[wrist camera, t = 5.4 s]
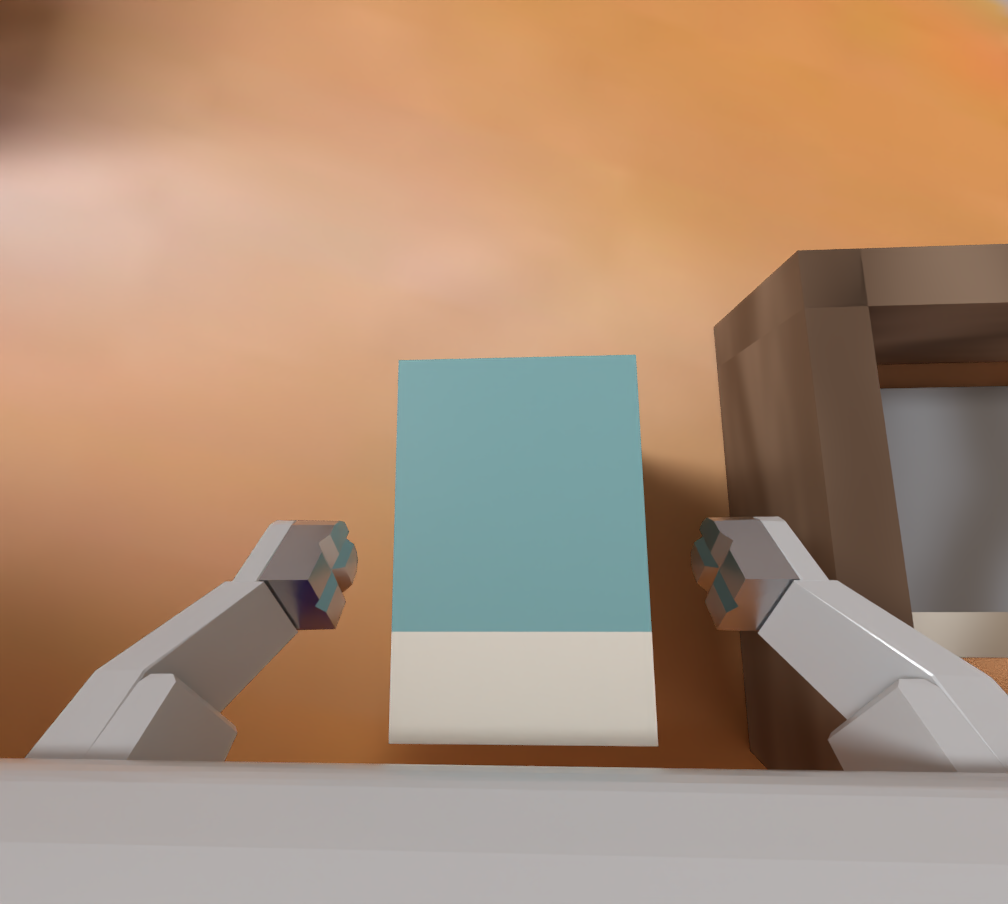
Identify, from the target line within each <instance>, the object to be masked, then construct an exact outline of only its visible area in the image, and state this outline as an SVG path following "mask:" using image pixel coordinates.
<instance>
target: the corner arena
mask: <svg viewBox="0 0 1008 904" xmlns="http://www.w3.org/2000/svg"><path fill="white" fill-rule="evenodd" d="M714 335H715V347H716V359H717V370H718V382H719V394H720V405H721V417H722V429H723V440H724V452H725V464H726V475H727V487H728V499H729V510H730V517H780V518H782V519H783V520H785V521H786V523H787V524H788V525H789V527H790V528H791V529H792V531H793V532H794V533H795V535H796V536H797V537H798V539H799V540H800V541H801V543H802V544H803V546H804V547H805V548H806V550H807V551H808V552H809V554H810V555H811V556H812V558H813V559H814V560H815V562H816V563H817V564H818V566H819V567H820V568H821V570H822V571H823V572H824V574H825V575H826V576H827V578H828V579H829V580H837V581H839V582H841V583H842V584H844V585H845V586H847V587H848V588H850V589H852V590H853V591H855V592H856V593H858V594H860V595H861V596H863V597H864V598H866V599H868V600H869V601H871V602H872V603H874V604H875V605H877V606H879V607H880V608H882V609H883V610H885V611H887V612H888V613H890V614H891V615H893V616H895V617H896V618H898V619H899V620H901V621H902V622H904V623H906V624H907V625H909V626H910V627H912V628H914V629H915V630H917V631H918V632H920V633H922V634H923V635H925V636H926V637H928V638H930V639H931V640H933V641H934V642H936V643H937V644H939V645H941V646H942V647H944V648H945V649H947V650H949V651H950V652H952V653H953V654H955V655H957V656H958V657H992V658H1008V386H986V387H937V388H887V389H880V385H879V378H878V371H877V364H917V363H962V362H1007V361H1008V244H990V245H959V246H927V247H896V248H865V249H833V250H802V251H797V252H796V253H794V254H793V255H792V256H791V257H790V258H789V259H788V260H787V261H786V262H785V263H783V264H782V265H781V266H780V267H779V268H778V269H777V270H776V271H775V272H774V273H773V274H771V275H770V276H769V277H768V278H767V279H766V280H765V281H764V282H763V283H762V284H760V285H759V286H758V287H757V288H756V289H755V290H754V291H753V292H752V293H751V294H749V295H748V296H747V297H746V298H745V299H744V300H743V301H742V302H741V303H740V304H738V305H737V306H736V307H735V308H734V309H733V310H732V311H731V312H730V313H729V314H727V315H726V316H725V317H724V318H723V319H722V320H721V321H720V322H719V323H718V324H717V325H715V326H714ZM758 632H759V631H740V638H741V650H742V662H743V673H744V685H745V697H746V708H747V720H748V732H749V743H750V751H751V752H752V753H753V754H754V755H755V756H756V757H757V758H758V759H759V760H760V761H761V763H762V764H763V765H764V766H765V767H766V768H767V769H768V770H829V771H844V770H843V768H842V766H841V764H840V762H839V760H838V758H837V756H836V754H835V753H834V751H833V749H832V747H831V745H830V743H829V741H828V738H829V736H830V734H831V732H832V731H834V730H835V729H836V728H837V727H839V726H840V725H841V724H842V723H844V722H845V721H846V720H847V719H846V718H845V717H844V716H843V715H842V714H841V713H840V712H839V711H838V710H837V709H836V708H835V707H834V706H833V705H832V704H831V703H829V702H828V701H827V700H826V699H825V698H824V697H823V696H822V695H821V694H820V693H819V692H818V691H817V690H816V689H815V688H814V687H813V686H812V685H811V684H810V683H809V682H808V681H807V680H806V679H805V678H804V677H803V676H802V675H800V674H799V673H798V672H797V671H796V670H795V669H794V668H793V667H792V666H791V665H790V664H789V663H788V662H787V661H786V660H785V659H784V658H783V657H782V656H781V655H780V654H779V653H778V652H777V651H776V650H775V649H774V648H772V647H771V646H770V645H769V644H768V643H767V642H766V641H765V640H764V639H763V638H762V637H761V636H760V635H759V634H758Z"/></svg>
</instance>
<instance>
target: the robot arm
mask: <svg viewBox="0 0 1008 904" xmlns="http://www.w3.org/2000/svg"><path fill="white" fill-rule="evenodd" d="M699 530H700V532H701V534H702V536H703V537H701V538H700V539H698V540H697V541H696V542H694V544H693V547H692V550H691V567H692V571H693V575H694V577H695V579H696V582H697V584H698V585H700V586H701V587H702V588H703V589H704V590H706V591H707V592H708V594H707V597H706V599H705V603H706V606H707V608H708V610H709V612H710V615H711V617H712V619H713V622H714V624H715V626H716V629H717V630H735V631H759V632H758V634H759V635H760V636H761V637H762V638H763V639H764V640H765V641H766V642H767V643H768V644H769V645H770V646H771V647H772V648H774V649H775V650H776V651H777V652H778V653H779V654H780V655H781V656H782V657H783V658H784V659H785V660H786V661H787V662H788V663H789V664H790V665H791V666H792V667H793V668H794V669H795V670H796V671H797V672H798V673H799V674H800V675H802V676H803V677H804V678H805V679H806V680H807V681H808V682H809V683H810V684H811V685H812V686H813V687H814V688H815V689H816V690H817V691H818V692H819V693H820V694H821V695H822V696H823V697H824V698H825V699H826V700H827V701H828V702H829V703H831V704H832V705H833V706H834V707H835V708H836V709H837V710H838V711H839V712H840V713H841V714H842V715H843V716H844V717H845V718H846V719H847V720H846V721H845V722H844V723H842V724H841V725H840V726H839V727H837V728H836V729H835V730H834V731H832V732H831V734H830V736H829V738H828V741H829V743H830V745H831V747H832V749H833V751H834V753H835V754H836V756H837V758H838V760H839V762H840V764H841V766H842V768H843V770H844V771H829V770H762V769H696V768H629V767H563V766H496V765H430V764H364V763H297V762H231V761H225V759H226V757H227V754H228V752H229V750H230V748H231V746H232V744H233V741H234V739H235V737H236V735H237V730H236V726H235V725H234V724H233V723H231V722H230V721H229V720H228V719H227V718H225V717H224V716H223V715H222V714H221V713H220V712H221V711H222V710H223V709H224V708H225V707H226V706H227V705H228V704H229V703H230V702H231V701H232V700H233V699H234V698H235V697H236V696H237V695H238V694H239V693H240V692H241V691H242V690H243V689H244V688H245V686H246V685H247V684H248V683H249V682H250V681H251V680H252V679H253V678H254V677H255V676H256V675H257V674H258V673H259V672H260V671H261V670H262V669H263V668H264V667H265V666H266V665H267V664H268V663H269V662H270V661H271V660H272V659H273V657H274V656H275V655H276V654H277V653H278V652H279V651H280V650H281V649H282V648H283V647H284V646H285V645H286V644H287V643H288V642H289V641H290V640H291V639H292V638H293V637H294V636H295V635H296V634H297V633H298V631H297V630H317V629H336V626H337V624H338V621H339V618H340V616H341V613H342V610H343V608H344V605H345V603H346V601H345V598H344V595H343V592H344V591H345V590H346V589H347V588H349V587H350V586H351V585H352V584H353V581H354V578H355V575H356V572H357V564H358V557H357V551H356V548H355V546H354V544H353V543H351V542H350V541H349V540H347V539H346V537H347V535H348V533H349V531H348V529H347V526H346V524H345V522H342V521H313V520H298V521H296V520H276V521H275V522H273V523H272V524H270V525H269V527H268V528H267V530H266V531H265V533H264V534H263V536H262V537H261V539H260V540H259V542H258V543H257V545H256V546H255V548H254V549H253V551H252V552H251V554H250V555H249V557H248V558H247V560H246V561H245V563H244V564H243V566H242V567H241V569H240V570H239V572H238V573H237V575H236V576H235V578H234V579H233V581H225V582H224V583H222V584H221V585H219V586H218V587H217V588H215V589H214V590H212V591H211V592H209V593H208V594H206V595H205V596H203V597H202V598H201V599H199V600H198V601H196V602H195V603H193V604H192V605H190V606H189V607H187V608H186V609H185V610H183V611H182V612H180V613H179V614H177V615H176V616H174V617H173V618H171V619H170V620H169V621H167V622H166V623H164V624H163V625H161V626H160V627H158V628H157V629H155V630H154V631H152V632H151V633H150V634H148V635H147V636H145V637H144V638H142V639H141V640H139V641H138V642H136V643H135V644H134V645H132V646H131V647H129V648H128V649H126V650H125V651H123V652H122V653H120V654H119V655H118V656H116V657H115V658H113V659H112V660H110V661H109V662H107V663H106V664H104V665H103V666H101V667H100V668H99V669H97V670H96V671H95V672H94V673H93V674H92V675H91V677H90V678H89V679H88V680H87V682H86V683H85V684H84V685H83V687H82V688H81V689H80V690H79V691H78V693H77V694H76V695H75V696H74V698H73V699H72V700H71V701H70V703H69V704H68V705H67V706H66V707H65V709H64V710H63V711H62V712H61V714H60V715H59V716H58V717H57V719H56V720H55V721H54V722H53V723H52V725H51V726H50V727H49V728H48V730H47V731H46V732H45V733H44V735H43V736H42V737H41V738H40V740H39V741H38V742H37V743H36V744H35V746H34V747H33V748H32V749H31V751H30V752H29V753H28V754H27V756H26V757H25V758H0V904H1008V695H1007V694H1006V693H1005V692H1004V691H1003V690H1002V688H1001V687H1000V686H999V685H998V684H997V683H996V682H995V681H994V680H993V679H992V678H991V677H990V676H988V675H987V674H985V673H984V672H982V671H980V670H979V669H977V668H976V667H974V666H972V665H971V664H969V663H968V662H966V661H964V660H963V659H961V658H960V657H958V656H957V655H955V654H953V653H952V652H950V651H949V650H947V649H945V648H944V647H942V646H941V645H939V644H937V643H936V642H934V641H933V640H931V639H930V638H928V637H926V636H925V635H923V634H922V633H920V632H918V631H917V630H915V629H914V628H912V627H910V626H909V625H907V624H906V623H904V622H902V621H901V620H899V619H898V618H896V617H895V616H893V615H891V614H890V613H888V612H887V611H885V610H883V609H882V608H880V607H879V606H877V605H875V604H874V603H872V602H871V601H869V600H868V599H866V598H864V597H863V596H861V595H860V594H858V593H856V592H855V591H853V590H852V589H850V588H848V587H847V586H845V585H844V584H842V583H841V582H839V581H837V580H829V579H828V578H827V576H826V575H825V574H824V572H823V571H822V570H821V568H820V567H819V566H818V564H817V563H816V562H815V560H814V559H813V558H812V556H811V555H810V554H809V552H808V551H807V550H806V548H805V547H804V546H803V544H802V543H801V541H800V540H799V539H798V537H797V536H796V535H795V533H794V532H793V531H792V529H791V528H790V527H789V525H788V524H787V523H786V521H785V520H783V519H782V518H780V517H710V518H706V519H705V520H704V521H703V522H702V524H701V526H700V529H699Z"/></svg>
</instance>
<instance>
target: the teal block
mask: <svg viewBox="0 0 1008 904" xmlns="http://www.w3.org/2000/svg"><path fill="white" fill-rule="evenodd" d="M389 744H468V745H566V746H658V732H657V715H656V697H655V680H654V663H653V645H652V628H651V610H650V593H649V576H648V558H647V541H646V524H645V506H644V489H643V471H642V454H641V437H640V419H639V402H638V384H637V367H636V355H607V356H564V357H521V358H478V359H434V360H399V372H398V410H397V448H396V486H395V524H394V561H393V599H392V637H391V675H390V713H389Z"/></svg>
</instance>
